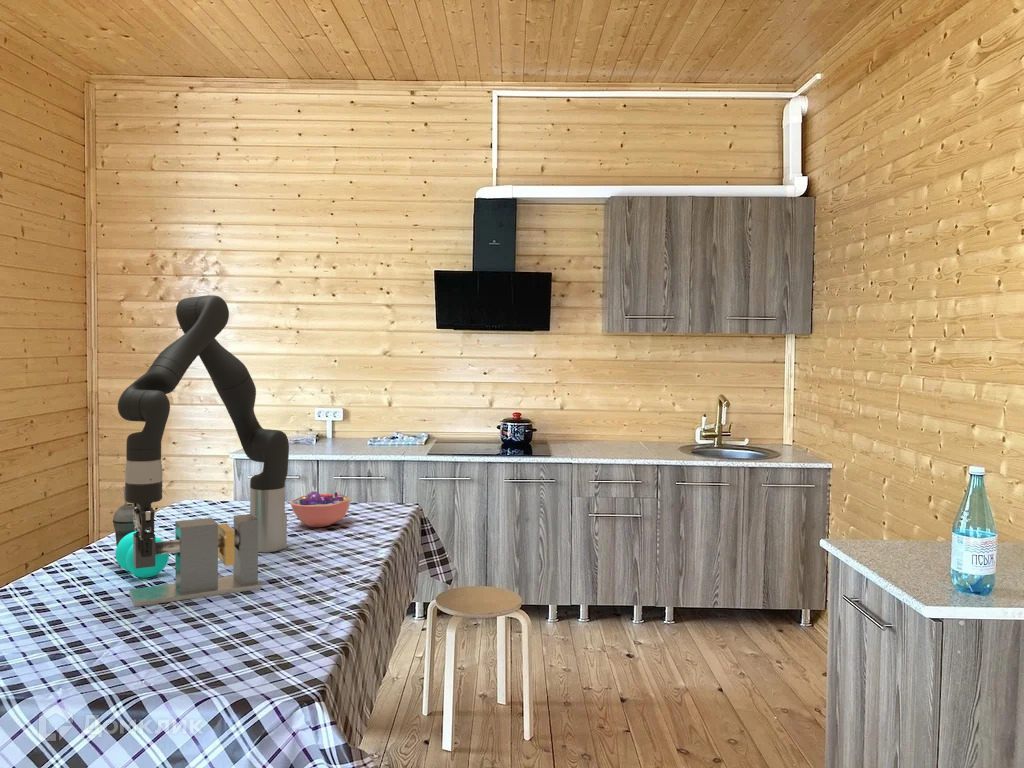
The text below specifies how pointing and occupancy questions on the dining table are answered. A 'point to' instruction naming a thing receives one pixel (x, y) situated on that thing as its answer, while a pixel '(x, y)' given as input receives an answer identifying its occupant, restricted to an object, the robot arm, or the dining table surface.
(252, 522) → the pillow blocks
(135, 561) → the shaft
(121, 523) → the beverage cup
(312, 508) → the cell model
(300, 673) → the dining table surface
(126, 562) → the donuts
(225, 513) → the dining table surface
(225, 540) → the spacer
